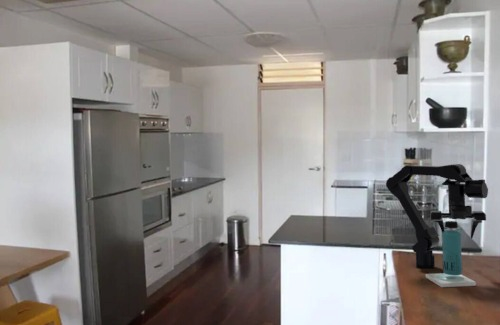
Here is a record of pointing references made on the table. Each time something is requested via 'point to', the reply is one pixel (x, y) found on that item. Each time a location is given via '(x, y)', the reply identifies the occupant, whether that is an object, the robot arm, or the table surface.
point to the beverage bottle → (451, 250)
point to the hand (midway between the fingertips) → (457, 238)
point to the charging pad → (450, 280)
